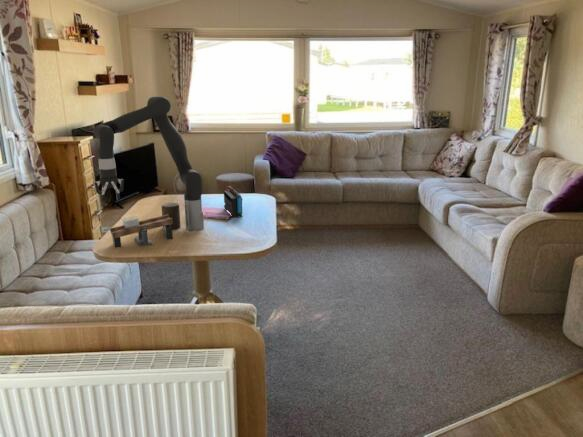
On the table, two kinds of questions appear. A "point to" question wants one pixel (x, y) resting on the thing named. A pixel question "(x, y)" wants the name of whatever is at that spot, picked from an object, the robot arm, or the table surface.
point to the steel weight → (130, 222)
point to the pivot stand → (145, 237)
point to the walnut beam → (147, 223)
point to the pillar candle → (172, 214)
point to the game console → (233, 202)
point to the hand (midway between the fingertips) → (111, 201)
